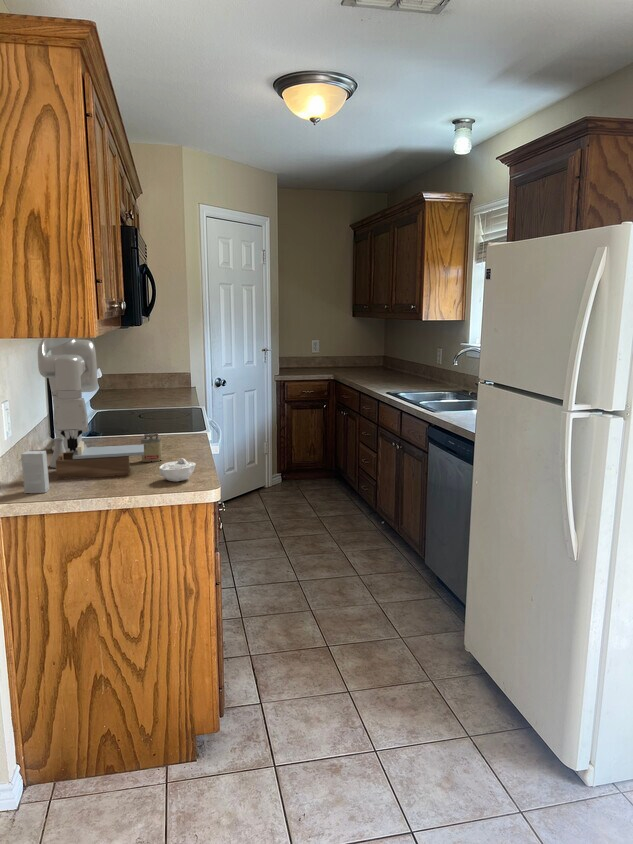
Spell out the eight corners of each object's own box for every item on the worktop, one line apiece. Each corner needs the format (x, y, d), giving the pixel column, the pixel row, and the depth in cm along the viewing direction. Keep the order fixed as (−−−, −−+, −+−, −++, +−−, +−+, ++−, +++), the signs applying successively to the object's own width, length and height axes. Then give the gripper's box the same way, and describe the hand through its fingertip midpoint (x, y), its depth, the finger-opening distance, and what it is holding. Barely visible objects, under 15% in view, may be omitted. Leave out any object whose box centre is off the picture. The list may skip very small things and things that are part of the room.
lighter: (141, 462, 221) (140, 435, 219) (141, 460, 225) (140, 433, 223) (162, 461, 223) (161, 434, 221) (161, 459, 226) (160, 432, 225)
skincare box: (49, 489, 186) (46, 450, 184) (45, 493, 182) (42, 453, 180) (28, 490, 186) (25, 450, 184) (23, 494, 181) (20, 454, 179)
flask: (65, 462, 221) (63, 435, 219) (75, 465, 216) (74, 437, 214) (45, 466, 215) (43, 438, 214) (56, 469, 211) (54, 440, 209)
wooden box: (61, 469, 210) (60, 452, 209) (129, 465, 216) (128, 448, 215) (57, 479, 198) (55, 461, 197) (129, 474, 204) (128, 456, 203)
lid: (76, 450, 211) (76, 440, 210) (143, 447, 216) (143, 437, 216) (72, 459, 198) (72, 448, 198) (144, 455, 204) (143, 444, 204)
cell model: (152, 481, 196) (151, 460, 194) (183, 474, 205) (182, 454, 204) (172, 487, 189) (171, 465, 188) (202, 479, 198) (202, 458, 197)
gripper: (42, 397, 195) (46, 454, 198) (92, 395, 199) (96, 451, 202) (46, 394, 203) (50, 449, 206) (94, 392, 206) (97, 446, 209)
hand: (72, 450), depth 204 cm, fingers closed
